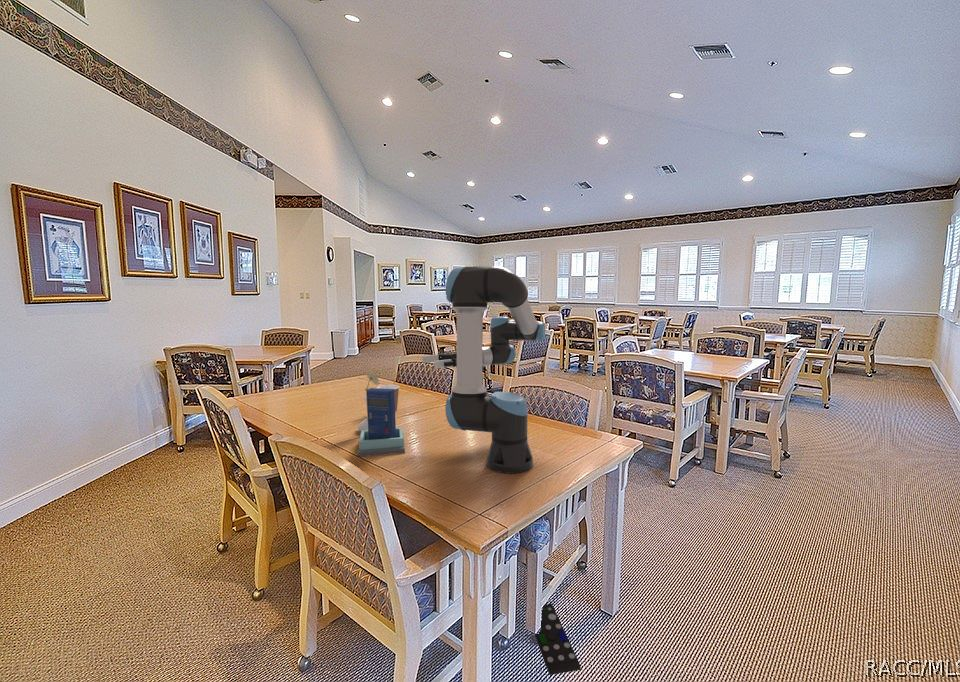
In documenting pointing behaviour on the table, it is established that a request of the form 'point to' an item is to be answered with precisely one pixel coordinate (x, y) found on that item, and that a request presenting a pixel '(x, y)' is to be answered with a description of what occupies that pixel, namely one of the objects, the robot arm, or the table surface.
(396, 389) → the coffee cup
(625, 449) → the table surface
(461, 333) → the robot arm
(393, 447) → the charging dock
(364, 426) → the flower in vase
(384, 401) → the electronic device
